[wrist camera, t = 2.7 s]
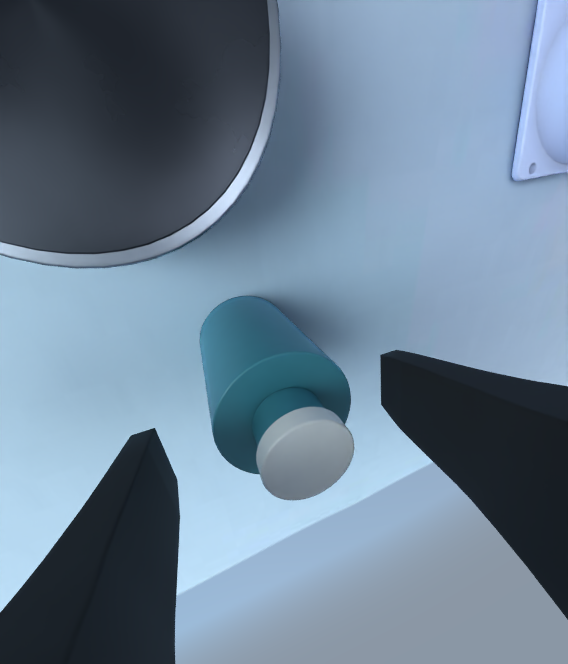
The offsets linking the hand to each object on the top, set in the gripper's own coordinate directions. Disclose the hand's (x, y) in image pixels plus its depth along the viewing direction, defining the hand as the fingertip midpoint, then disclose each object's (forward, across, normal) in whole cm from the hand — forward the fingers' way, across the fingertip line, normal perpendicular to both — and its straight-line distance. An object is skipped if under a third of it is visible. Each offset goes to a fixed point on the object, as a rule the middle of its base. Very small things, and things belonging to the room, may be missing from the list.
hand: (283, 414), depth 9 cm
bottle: (+6, 0, 0) cm, 6 cm away
